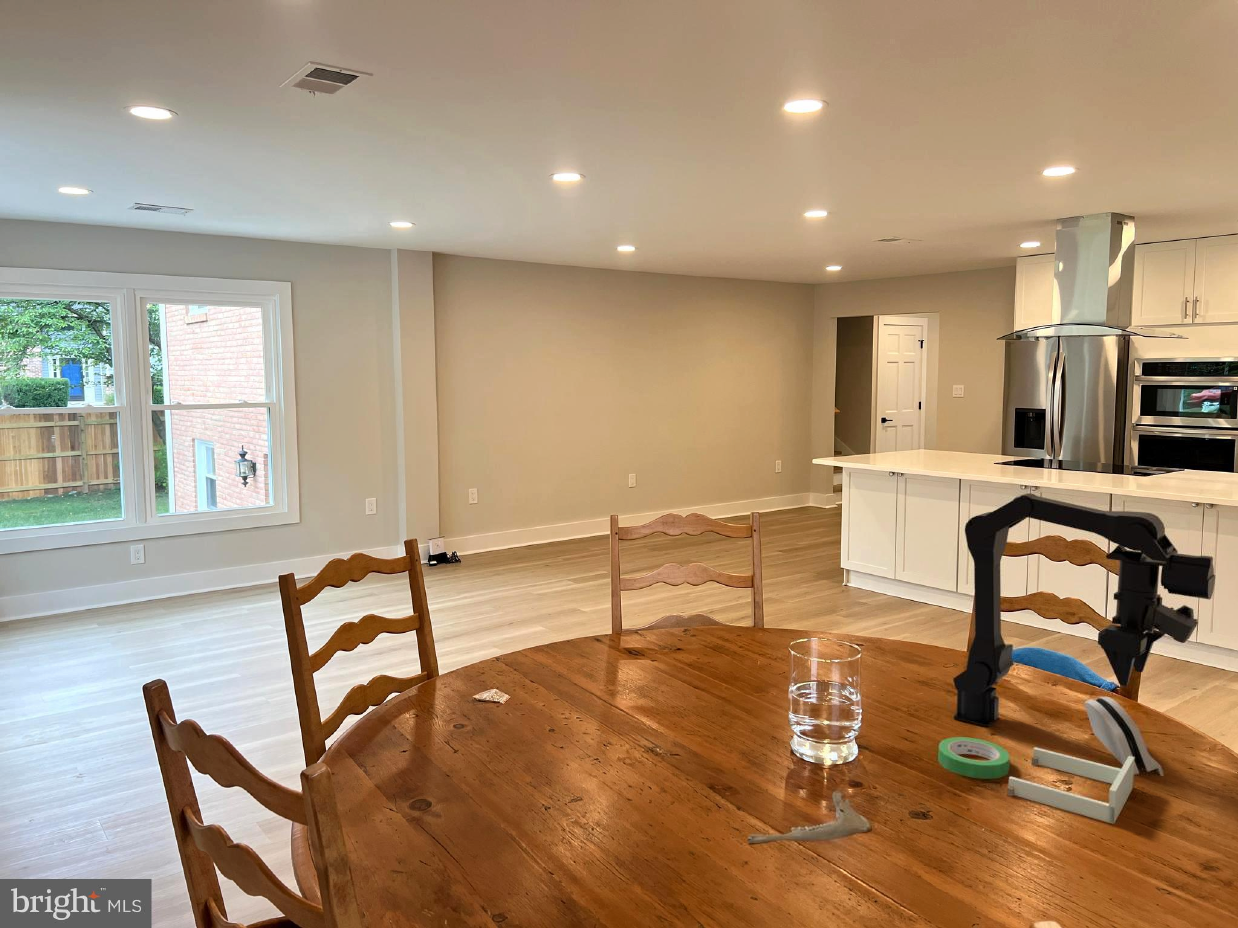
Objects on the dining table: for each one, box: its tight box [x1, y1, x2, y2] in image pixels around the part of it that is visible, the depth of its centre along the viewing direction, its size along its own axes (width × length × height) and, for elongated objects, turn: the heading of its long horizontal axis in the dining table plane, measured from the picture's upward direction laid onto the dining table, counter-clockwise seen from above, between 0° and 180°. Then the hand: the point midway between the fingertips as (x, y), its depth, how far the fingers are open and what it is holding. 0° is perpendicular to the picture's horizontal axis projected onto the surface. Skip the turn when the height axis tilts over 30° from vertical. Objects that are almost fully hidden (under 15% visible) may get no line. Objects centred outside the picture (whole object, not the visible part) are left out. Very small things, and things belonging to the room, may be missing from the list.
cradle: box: [1006, 746, 1135, 825], centre depth 134 cm, size 15×16×5 cm
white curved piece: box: [1084, 696, 1165, 777], centre depth 147 cm, size 17×5×10 cm, turn 170°
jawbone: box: [747, 790, 872, 844], centre depth 123 cm, size 9×20×2 cm, turn 127°
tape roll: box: [937, 736, 1011, 780], centre depth 144 cm, size 11×11×3 cm
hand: (1131, 678), depth 144 cm, fingers open, 9 cm apart
